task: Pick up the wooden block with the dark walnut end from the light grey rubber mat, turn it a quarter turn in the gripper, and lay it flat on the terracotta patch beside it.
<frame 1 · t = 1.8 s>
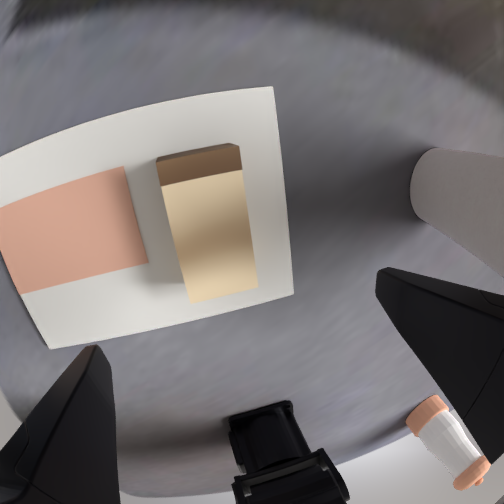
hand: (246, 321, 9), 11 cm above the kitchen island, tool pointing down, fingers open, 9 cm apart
coffee cup: (433, 184, 22), on the kitchen island
mat: (132, 231, 17), on the kitchen island
salt shaker: (421, 408, 41), on the kitchen island
wooden block: (193, 149, 16), resting on mat
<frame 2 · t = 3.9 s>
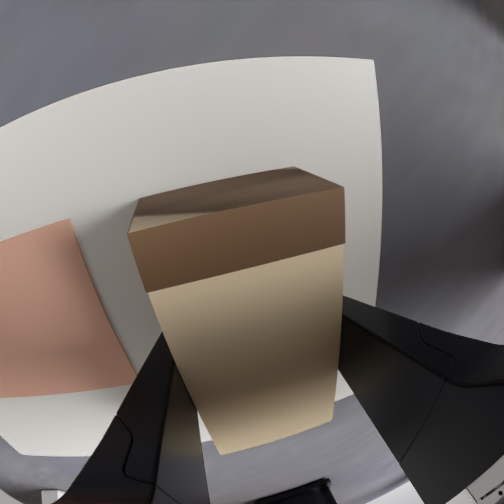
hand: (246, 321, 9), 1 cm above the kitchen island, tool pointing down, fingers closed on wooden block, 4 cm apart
pepper shaker: (72, 499, 14), on the kitchen island
mat: (105, 333, 9), on the kitchen island
wooden block: (218, 180, 7), resting on mat, touching gripper
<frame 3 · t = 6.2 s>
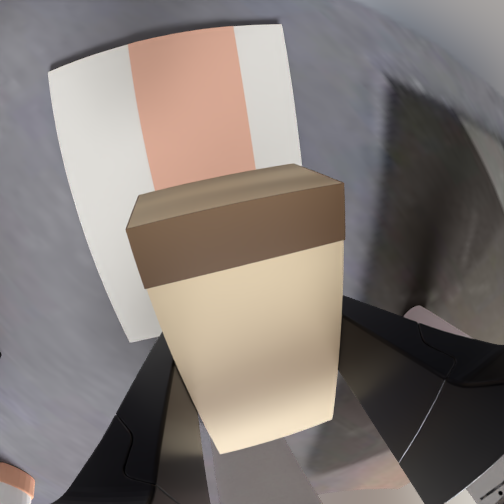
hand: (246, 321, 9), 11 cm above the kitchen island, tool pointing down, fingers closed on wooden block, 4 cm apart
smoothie: (410, 319, 29), on the kitchen island
coffee cup: (239, 419, 28), on the kitchen island
mat: (190, 190, 18), on the kitchen island
salt shaker: (15, 472, 25), on the kitchen island
wooden block: (217, 176, 7), point 10 cm above the kitchen island, touching gripper
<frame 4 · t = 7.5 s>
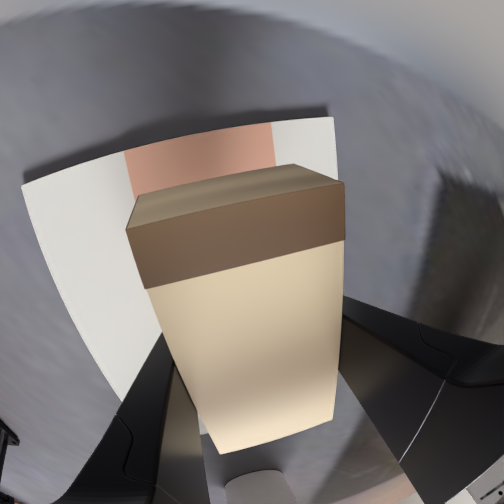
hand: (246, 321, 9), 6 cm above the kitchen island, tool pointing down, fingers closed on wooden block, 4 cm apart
coffee cup: (253, 480, 26), on the kitchen island
mat: (214, 326, 16), on the kitchen island
wooden block: (217, 177, 7), point 5 cm above the kitchen island, touching gripper
when the fingers open (3 cm above the kitchen island, at t = 8.5 s): wooden block drops 1 cm, resting on mat.
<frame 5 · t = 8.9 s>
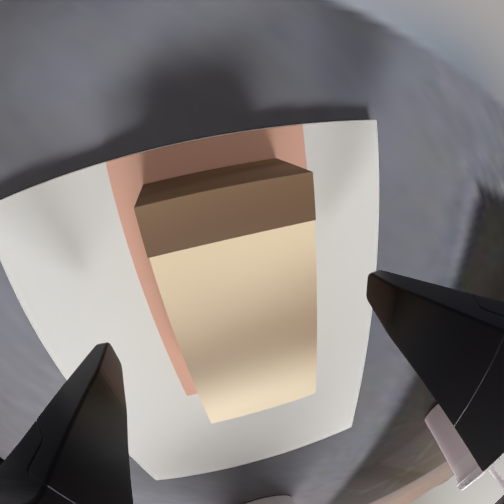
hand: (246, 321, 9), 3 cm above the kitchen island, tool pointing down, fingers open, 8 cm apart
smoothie: (437, 408, 24), on the kitchen island
mat: (226, 370, 13), on the kitchen island
wooden block: (210, 169, 9), point 1 cm above the kitchen island, touching mat
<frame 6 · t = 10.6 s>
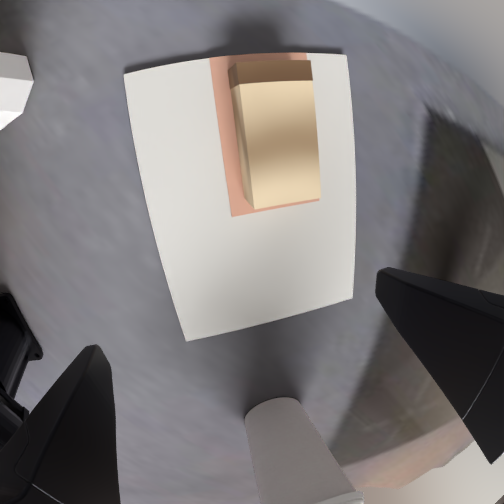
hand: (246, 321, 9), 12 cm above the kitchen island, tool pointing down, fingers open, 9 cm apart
coffee cup: (272, 413, 30), on the kitchen island
pepper shaker: (3, 90, 12), on the kitchen island
mat: (259, 201, 20), on the kitchen island
wooden block: (261, 67, 15), point 1 cm above the kitchen island, touching mat
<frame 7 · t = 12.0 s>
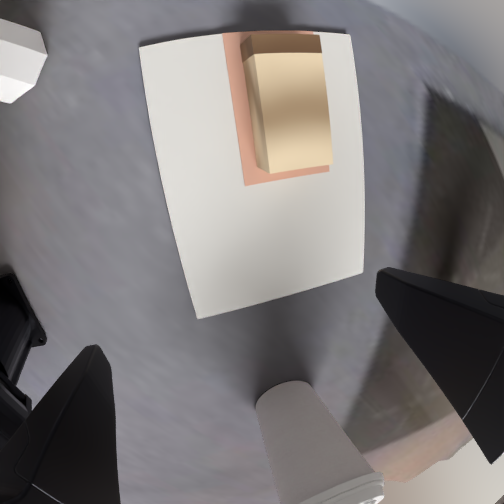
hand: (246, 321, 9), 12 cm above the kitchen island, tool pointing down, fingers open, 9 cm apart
coffee cup: (283, 399, 30), on the kitchen island
pepper shaker: (15, 65, 12), on the kitchen island
mat: (271, 171, 19), on the kitchen island
wooden block: (271, 43, 15), point 1 cm above the kitchen island, touching mat
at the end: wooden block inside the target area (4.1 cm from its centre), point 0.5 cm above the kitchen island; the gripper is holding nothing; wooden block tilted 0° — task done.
